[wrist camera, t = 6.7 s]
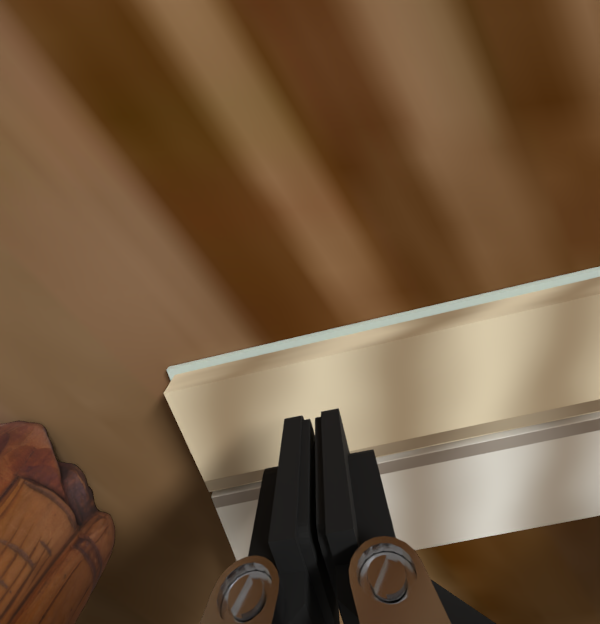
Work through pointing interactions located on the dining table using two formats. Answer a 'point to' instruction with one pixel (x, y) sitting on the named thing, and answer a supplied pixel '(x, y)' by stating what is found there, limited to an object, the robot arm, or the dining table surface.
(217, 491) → the laid board
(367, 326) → the underlay
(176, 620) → the dining table surface
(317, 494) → the robot arm
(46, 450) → the wooden figurine
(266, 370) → the plank
